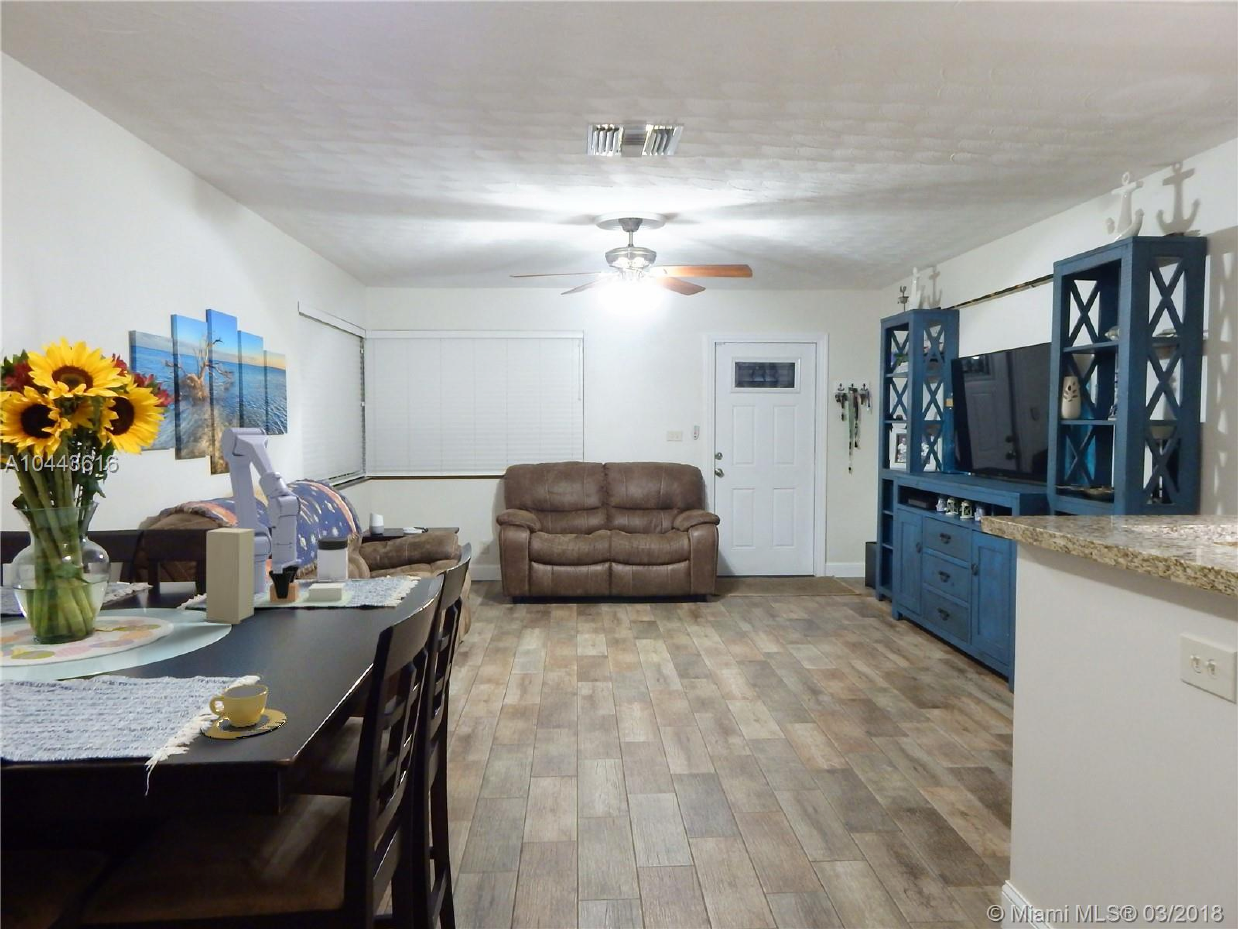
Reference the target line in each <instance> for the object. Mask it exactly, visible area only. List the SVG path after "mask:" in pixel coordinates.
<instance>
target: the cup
mask: <svg viewBox="0 0 1238 929" xmlns="http://www.w3.org/2000/svg"><path fill="white" fill-rule="evenodd" d="M268 692H269V688H268V687H267V686H266V685H262V684H241V685H236V686H233V687H230V688H227V689H225V690H224V691H222V693H221V694H220V695H218V696H213V698H212V699H210V701H209V710H210V711H211V713H212V714H214V715H216V716H223V717H221V718H220V719H221V720H220V719H219V720H218V721H216V722H215V723H214V724H213V725H212V728H210V730H209V731H207V732H209V733H205V736H207V737H210V736H211V737H210V738H215V739H237V738H236V736H242V734H241V732H250V731H248V730H243V731H232V732H229V731H230V730H227V731H223V730H220V728H219V727H218V726H219V722H222V721H223V719H228V720H229V721H230V722H229V723H230V724H231V725H232V726H233V727H234V726H235V727H234V728H238V727H244V726H250V727H252V726H251V725H253V726H255V725H256V724H257V723H258V722H259V721H260V719H261V718H260V717H261V715H266V716H268V719H270V721H269V723H267V724H266V725H264V724H263V725H264V726H262V725H261V726H262V727H260V726H259V727H260V728H258V727H256V728H257V729H270V727H269V728H268V727H267V726H279V725H281V724H279V723H275V722H284V723H285V722H286V721H285V720H282V719H286V720H287V716H285V715H286V714H285V713H283V712H282V711H280V710H278V709H277V710H276V709H272V708H271V709H270V708H266V705H267V698H268ZM216 702H221V703H222V708H223V710H222V709H219V708H217V706H216ZM255 723H256V724H255ZM254 724H255V725H254ZM281 726H282V725H281ZM263 727H264V728H263ZM279 727H280V726H279ZM251 730H252V729H251ZM251 732H254V731H253V730H252V731H251ZM255 732H256V731H255ZM245 736H246V734H245Z"/></svg>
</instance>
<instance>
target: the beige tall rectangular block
mask: <svg viewBox="0 0 1238 929" xmlns="http://www.w3.org/2000/svg"><path fill="white" fill-rule="evenodd" d="M254 535H255V534H254V529H239V528H235V527H220V528H215V529H210V530H207V531H206V535H205V536H206V538H205V539H206V544H205V545H206V546H205V547H206V548H205V549H206V550H205V551H206V552H205V554H206V556H205V559H206V568H205V569H206V570H205V571H206V573H205V574H206V575H205V576H206V577H205V578H206V580H205V583H206V585H205V586H206V587H205V588H206V590H205V595H206V597H205V598H206V600H205V601H206V602H205V610H206V612H205V615H206V616H205V620H206V623H208V624H211V623H212V624H224V625H225V624H229V625H239V624H242V623H244V622H246V621H247V620H246V619H247V618H249V617H251V616H253V615H254V614H255V612H254V611H255V607H254V605H255V593H254Z"/></svg>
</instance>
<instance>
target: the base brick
mask: <svg viewBox="0 0 1238 929" xmlns="http://www.w3.org/2000/svg"><path fill="white" fill-rule="evenodd" d="M345 591H346V583H345V582H323V583H312V584H311V585H310V586H309V587H308V592H309V600H342V599H343V597H344V596H345Z"/></svg>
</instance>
